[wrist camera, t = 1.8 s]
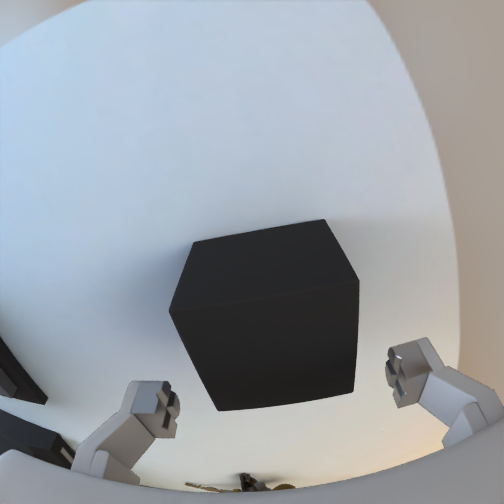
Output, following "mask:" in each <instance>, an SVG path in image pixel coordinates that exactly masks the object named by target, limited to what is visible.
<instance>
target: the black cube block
mask: <svg viewBox="0 0 504 504" xmlns="http://www.w3.org/2000/svg"><path fill="white" fill-rule="evenodd" d="M169 313H170V316H171V318H172V320H173V322H174V325H175V327H176V329H177V331H178V333H179V336H180V338H181V340H182V342H183V344H184V346H185V348H186V350H187V352H188V354H189V357H190V359H191V361H192V363H193V365H194V367H195V369H196V371H197V373H198V375H199V377H200V379H201V380H202V382H203V384H204V386H205V388H206V390H207V392H208V394H209V396H210V398H211V399H212V401H213V403H214V405H215V407H216V409H217V410H218V411H231V410H244V409H254V408H264V407H272V406H280V405H287V404H294V403H300V402H306V401H312V400H318V399H323V398H328V397H333V396H338V395H343V394H348V393H352V392H353V391H354V381H355V370H356V358H357V343H358V323H359V279H358V277H357V275H356V273H355V271H354V270H353V268H352V266H351V264H350V262H349V261H348V259H347V257H346V255H345V253H344V252H343V250H342V248H341V246H340V245H339V243H338V241H337V239H336V238H335V236H334V234H333V233H332V231H331V229H330V228H329V226H328V224H327V222H326V221H325V220H324V219H322V220H316V221H310V222H304V223H298V224H292V225H287V226H281V227H275V228H269V229H264V230H258V231H252V232H247V233H241V234H236V235H230V236H225V237H219V238H214V239H208V240H203V241H198V242H194V243H193V245H192V248H191V250H190V253H189V256H188V258H187V261H186V264H185V266H184V269H183V272H182V274H181V277H180V280H179V283H178V285H177V288H176V291H175V294H174V296H173V299H172V302H171V305H170V308H169Z"/></svg>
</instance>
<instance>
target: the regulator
mask: <svg viewBox="0 0 504 504" xmlns="http://www.w3.org/2000/svg"><path fill="white" fill-rule="evenodd" d="M239 476H240V480H241V486H242V490H240V489H234V490H223V489H221V490H218V489H216V488H213V487H206V488H205V487H201V485H199V486H196V485H193V484H189V483H186V484H185V485H187V486H192V487H196V488H200V489H204V490H208V491H215V492H220V493H238V492H262V491H275V490H285V489H294V488H295V486H293V485H290V484H281V485H279V486H277V487H275V488H274V489H273V490H271V489H270V488H267V487H266V486H265V484H264V483H256V482H257V481H256V480H255V479H254V478H252V477H250V475H249V474H246V473H244V474H240V475H239Z"/></svg>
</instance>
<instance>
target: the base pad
mask: <svg viewBox="0 0 504 504" xmlns="http://www.w3.org/2000/svg"><path fill="white" fill-rule="evenodd" d="M0 395H2V396H5V397H9V398H16V399H20V400H24V401H28V402H33V403H37V404H42V405H45V403H46V401H47V399H48V397H47V396H46V395H45V394H44V393H43V392H42V391H41V390H40V388H39V387H38V386H37V385H36V384H35V382H34V381H33V380H32V379H31V378H30V376H29V375H28V374H27V373H26V372H25V370H24V369H23V368H22V366H21V365H20V364H19V363H18V361H17V360H16V359H15V357H14V356H13V355H12V353H11V352H10V350H9V349H8V348H7V346H6V345H5V343H4V342H3V340H2V339H1V338H0Z"/></svg>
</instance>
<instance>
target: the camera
mask: <svg viewBox="0 0 504 504" xmlns="http://www.w3.org/2000/svg"><path fill="white" fill-rule="evenodd" d="M9 450H17V451H20V452H22V453H24V454H27V455H29V456H32V457H34V458H37V459H39V460H42V461H45V462H48V463H50V464H53V465H56V466H59V467H62V468H66V469H69V470H71V467H72V464H73V461H74V458H75V454H74V453H73V452H72V450H71V449H70V448H69V447H68V445H67V444H66V443H65V442H64V441H63V439H62V438H61V437H60V435H59V434H58V433H56V432H53V431H50V430H47V429H45V428H42V427H39V426H37V425H34V424H32V423H29V422H27V421H24V420H22V419H20V418H17V417H15V416H13V415H11V414H9V413H6V412H4V411H2V410H0V456H1V455H2V454H4V453H5V452H7V451H9Z"/></svg>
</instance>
